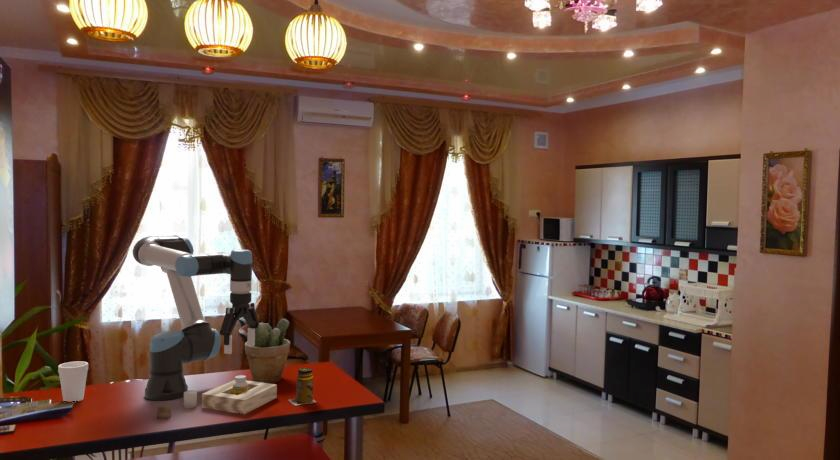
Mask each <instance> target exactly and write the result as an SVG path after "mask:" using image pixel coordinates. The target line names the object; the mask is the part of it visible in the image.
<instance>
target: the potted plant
mask: <svg viewBox="0 0 840 460" xmlns="http://www.w3.org/2000/svg"><path fill="white" fill-rule="evenodd" d="M289 325H290V321H289V320H288V319H286V318H281V319H279V321H277V324H276V327H274V328H273V327H272V326H271V325H270V324H269V323H268V322H267V323H264V322H259V325H258V328H255V346H249V345H247V341H246V342H245V343H244V351H245V355H246V356H247V361H248V366H249V370H250V374H251V377H252V381H254V382H262V383H269V384H274V383H276V382H279V381H281V380H282V376H283V374H284V370H285V367H286V364H287V359H288V354H289V353H290V348H291V347H290V346H291V341H290V340H289V339H286V337H285V336H286V334H287V333H286V331H287V330H288V328H289Z"/></svg>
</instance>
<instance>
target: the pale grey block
mask: <svg viewBox="0 0 840 460" xmlns="http://www.w3.org/2000/svg"><path fill="white" fill-rule="evenodd" d="M197 404H198V390H192V389H191V390H188V391H185V392H184V396H183V407H184V408H185V409H192V408H195V407H197V406H198V405H197Z"/></svg>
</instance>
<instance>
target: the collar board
mask: <svg viewBox="0 0 840 460" xmlns="http://www.w3.org/2000/svg"><path fill="white" fill-rule="evenodd" d="M234 382H236V381H235V379H233V380H231V381H229V382H227V383H224V384H222V385H219V386H217V387H215V388H212V389H210V390H208V391H205V392H203V393H201V409H207V410H213V411H214V410H215V411H220V412H227V413H233V414H239V413H240V414H239V415H246V414H248V413H250V412H251V411H254V410H257V408H260V407H261V406H263V405H265V404H267V403H269V402H272V401H273V400H275V399H277V396H278V388H277V387H278V385H277V384H275V383H262V382H254V381H253V380H247V379H246V382H248V391H246V392H244V393H241V394H239V395H233V383H234Z"/></svg>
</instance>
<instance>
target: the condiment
mask: <svg viewBox="0 0 840 460" xmlns="http://www.w3.org/2000/svg"><path fill="white" fill-rule="evenodd" d="M312 399H313V400H312ZM288 402H290V403H291V404H292V405H293V406H300V405H308V404H314V403H317V400H315V399H314V376H313V369H312V368H310V367H300V368H299V369H297V377H296V398H290V399H288ZM297 403H300V404H297Z"/></svg>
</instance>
